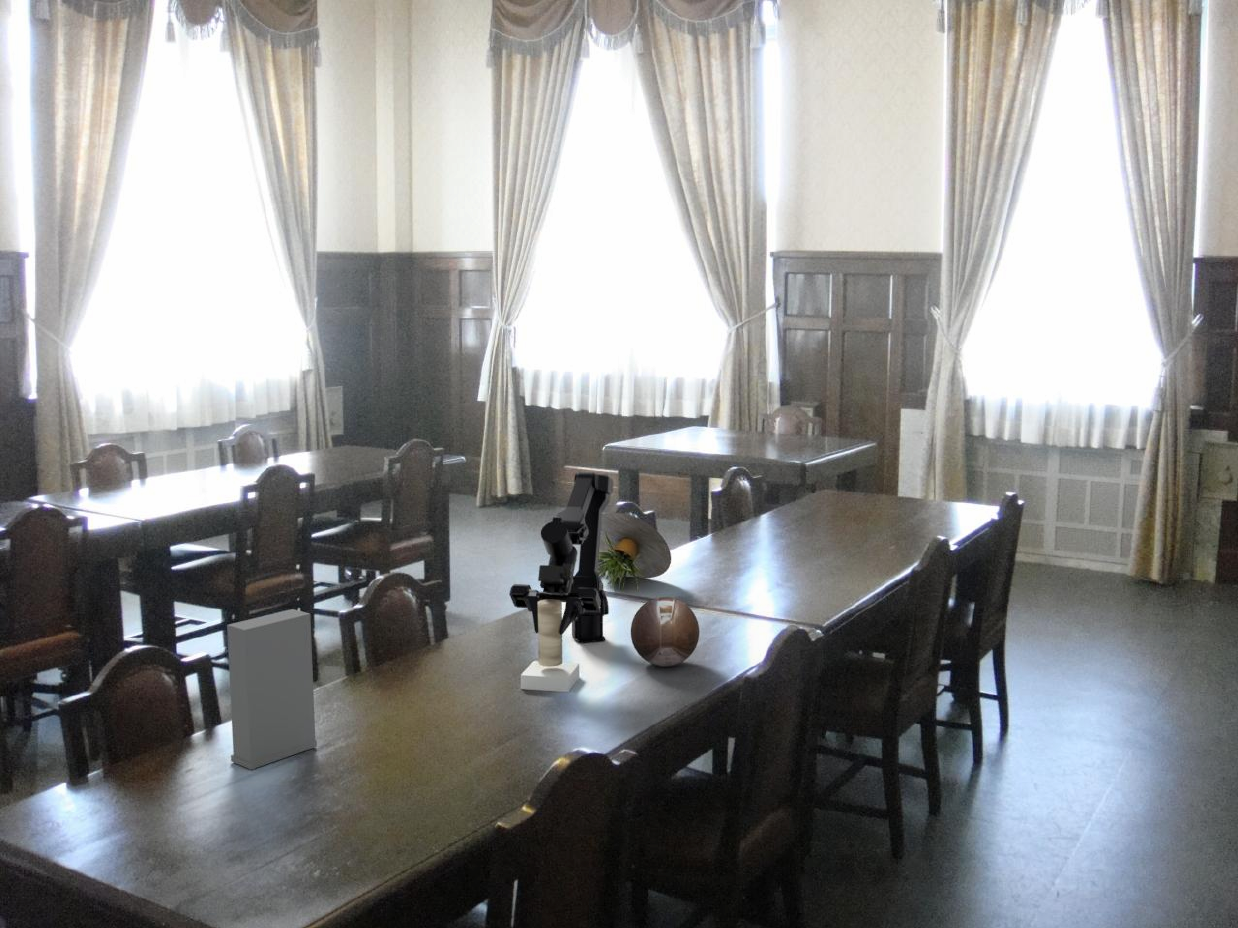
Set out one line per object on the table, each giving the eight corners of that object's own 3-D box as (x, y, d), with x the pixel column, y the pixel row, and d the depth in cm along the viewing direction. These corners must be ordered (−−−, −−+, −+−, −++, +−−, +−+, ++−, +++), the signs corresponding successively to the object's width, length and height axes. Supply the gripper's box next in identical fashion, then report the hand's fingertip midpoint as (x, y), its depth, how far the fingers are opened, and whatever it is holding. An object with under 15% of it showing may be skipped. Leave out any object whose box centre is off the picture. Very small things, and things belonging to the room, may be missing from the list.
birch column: (549, 657, 263) (548, 598, 261) (567, 662, 260) (566, 601, 258) (533, 663, 259) (532, 602, 257) (551, 667, 256) (550, 606, 254)
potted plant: (578, 603, 352) (554, 551, 335) (606, 555, 361) (583, 502, 344) (656, 625, 341) (634, 572, 323) (682, 575, 350) (663, 521, 332)
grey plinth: (534, 674, 266) (533, 660, 265) (579, 677, 264) (579, 663, 263) (520, 688, 256) (520, 674, 256) (567, 692, 254) (567, 677, 254)
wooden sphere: (641, 678, 263) (641, 609, 261) (622, 657, 277) (622, 592, 275) (708, 672, 267) (709, 604, 265) (686, 652, 281) (686, 587, 279)
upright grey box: (296, 740, 228) (290, 607, 225) (316, 747, 224) (311, 613, 221) (230, 762, 218) (223, 624, 214) (250, 771, 214) (244, 630, 210)
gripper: (511, 546, 262) (496, 611, 253) (597, 550, 258) (585, 616, 249) (522, 574, 271) (508, 637, 261) (605, 578, 267) (594, 642, 258)
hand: (548, 633), depth 257 cm, fingers closed on birch column, 5 cm apart
